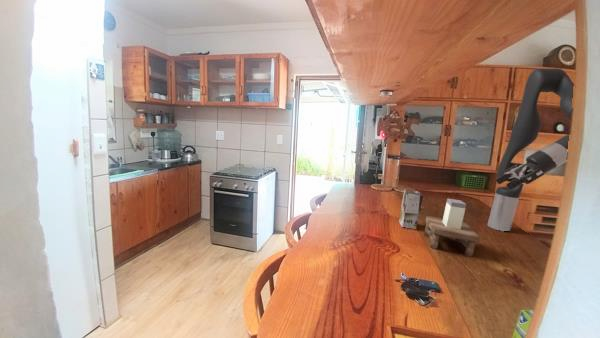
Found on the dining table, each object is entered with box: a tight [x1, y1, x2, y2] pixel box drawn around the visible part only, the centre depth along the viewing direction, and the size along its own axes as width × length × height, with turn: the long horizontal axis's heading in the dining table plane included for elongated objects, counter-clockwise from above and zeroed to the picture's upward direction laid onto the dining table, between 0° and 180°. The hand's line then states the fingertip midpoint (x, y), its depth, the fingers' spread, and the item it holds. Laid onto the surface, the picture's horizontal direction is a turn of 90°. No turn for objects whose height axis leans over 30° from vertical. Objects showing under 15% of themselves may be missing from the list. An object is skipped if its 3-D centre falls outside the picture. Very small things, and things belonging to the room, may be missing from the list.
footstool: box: [423, 215, 480, 258], centre depth 103 cm, size 15×15×8 cm
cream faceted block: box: [442, 198, 467, 229], centre depth 102 cm, size 6×5×10 cm
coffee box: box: [398, 188, 424, 230], centre depth 119 cm, size 9×6×16 cm
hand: (502, 184), depth 96 cm, fingers open, 8 cm apart
